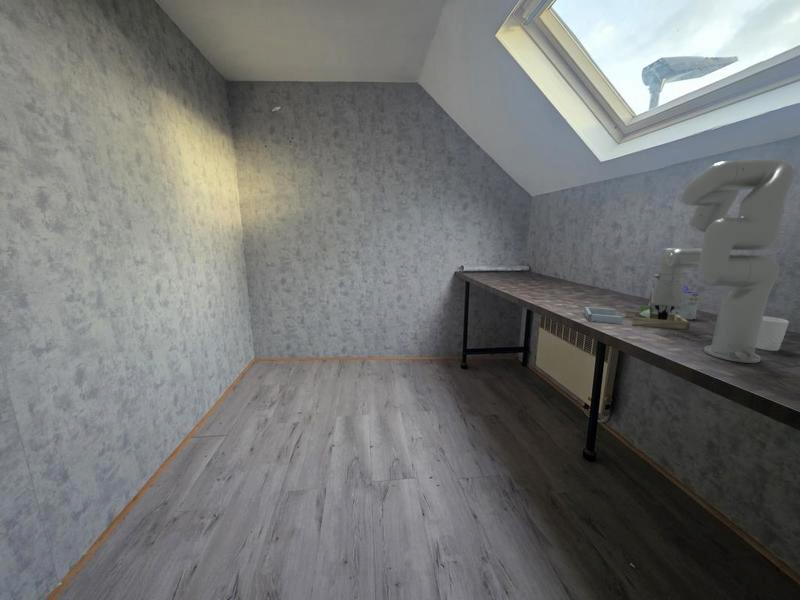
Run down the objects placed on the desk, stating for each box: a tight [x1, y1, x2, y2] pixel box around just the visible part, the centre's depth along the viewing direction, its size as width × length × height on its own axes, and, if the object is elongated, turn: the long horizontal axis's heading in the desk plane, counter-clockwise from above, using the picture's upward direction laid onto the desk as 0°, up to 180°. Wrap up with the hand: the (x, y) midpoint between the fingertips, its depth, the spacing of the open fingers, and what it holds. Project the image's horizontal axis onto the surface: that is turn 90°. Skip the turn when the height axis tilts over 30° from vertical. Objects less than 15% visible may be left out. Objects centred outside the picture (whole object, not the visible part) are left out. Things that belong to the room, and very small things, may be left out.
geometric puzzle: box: [636, 306, 657, 319], centre depth 139 cm, size 7×7×8 cm
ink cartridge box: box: [668, 285, 701, 320], centre depth 145 cm, size 10×6×14 cm, turn 78°
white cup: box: [755, 315, 790, 352], centre depth 108 cm, size 8×8×10 cm
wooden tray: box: [624, 309, 691, 331], centre depth 138 cm, size 14×19×3 cm
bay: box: [583, 306, 623, 325], centre depth 146 cm, size 15×12×3 cm
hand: (661, 320), depth 137 cm, fingers closed
